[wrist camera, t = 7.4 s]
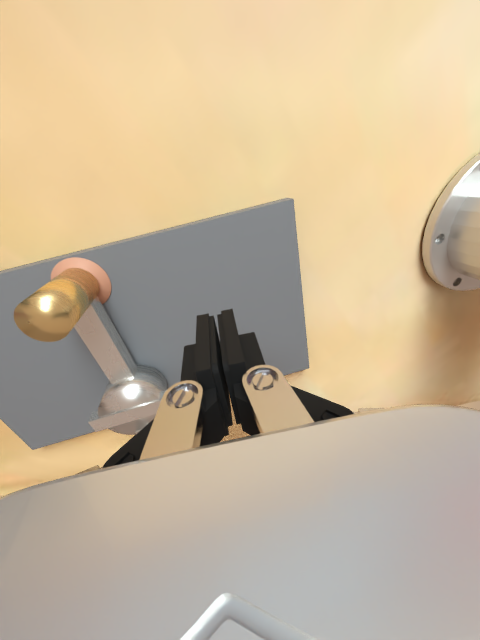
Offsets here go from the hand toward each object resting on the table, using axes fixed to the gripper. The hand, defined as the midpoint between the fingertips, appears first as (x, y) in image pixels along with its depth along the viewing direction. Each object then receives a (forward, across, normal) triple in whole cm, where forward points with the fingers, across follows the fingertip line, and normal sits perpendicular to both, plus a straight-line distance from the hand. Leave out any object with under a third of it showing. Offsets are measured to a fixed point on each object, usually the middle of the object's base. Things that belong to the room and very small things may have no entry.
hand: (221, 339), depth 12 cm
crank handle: (+8, +9, +5) cm, 13 cm away
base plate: (+10, +7, +4) cm, 13 cm away
